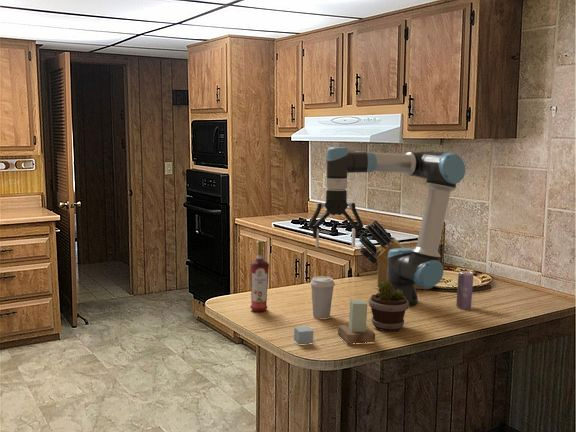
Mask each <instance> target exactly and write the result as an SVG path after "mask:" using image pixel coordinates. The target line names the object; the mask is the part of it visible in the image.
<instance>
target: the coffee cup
mask: <svg viewBox="0 0 576 432" xmlns="http://www.w3.org/2000/svg"><path fill="white" fill-rule="evenodd" d="M309 285H310V286H311V305H312V316H314V317H315V318H314V317H313V318H314V319H317V318H327V319H329V318H330V317H331V309H332V301H333V294H334V286H335V285H336V283H335V281H334V279H333V278H332V277H330V276H325V275H324V276H323V275H322V276H313V277H312V279H311V281H310V282H309ZM328 317H329V318H328Z"/></svg>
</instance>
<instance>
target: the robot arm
mask: <svg viewBox="0 0 576 432" xmlns="http://www.w3.org/2000/svg"><path fill="white" fill-rule="evenodd" d="M371 172H372V173H373V172H382V173H384V172H386V173H397V174H398V173H402V174H403V175H405V176H411V177H417V178H421V179H425V180H426V182H425V184H426V186H427V187H428V191H427V196H426V200H425V205H424V208H423V209H424V211H423V212H422V218H421V223H420V228H419V233H418V237H417V242H416V246H415V247H414V248H410V247H404V248H396V249H391V250H389V252H388V258H387V259H388V264H387V281H388V279H389V282H391V283H392V287H393V286H394V288H393V289H394V290H392V292H393V291H397V290H398V291H400V292H402V294H403V295H404V296H405V297H406V299H407V300H408V302H409V307H414V306H417V305H418V303H419V302H418V301H419V297H418V296H419V295H418V293H417V288H415V284H416V285H417V286H419V287H424V288H431V287H432V288H433V287H435V286H436V285H439V283H440V282H441V280H442V279H443V275H444V267H443V264H442V262H440V261H441V257H442V256H441V254H440V253H439V248H440V244H441V243H440V242H441V238H442V234H443V228H444V224H445V220H446V215H447V210H448V204H449V201H450V196H451V193H452V192H453V191H454V190H456V187H457V184H459V183H460V182H461V181H462V180H463V179H464V177H465V174H466V164H465V161H464V159H463V158H462V157H461V156H460V155H458V154H456V153H452V152H449V151H447V152H445V151H443V152H442V151H432V150H431V151H412V152H411V151H408V152H406V153H391V152H390V153H389V152H374V151H373V152H372V151H361V150H360V151H359V150H358V151H357V150H348V147H346V146H330V147H328V148H327V152H326V181H325V182H326V183H325V185H326V187H325V188H326V189H327V190H326V191H325V203H323V202H317V203H316V208H315V211H314V213H313V215H312V217H311V218H310V221H309V222H308V225H307V227H309V228H310V229H312V237H313V239H315V248H319V244H320V238H319V237H320V230H319V227H320V226H321V225H322V224H323V223H324V221H325V220H326V219H327V218H328V217H329V216H330V215H331V216H335V215H337V216H341V215H343V216H344V217H345V218H346V220H348V222H349V223H350V224H351V226H353V228H351V247H352V248H356V239H358V237H359V229H361V228H364V224H363V221H362V219H361V217H360V216H359V213H358V211H357V208H356V203H355V202H353V201H351V202H347V198H348V197H347V195H348V191H347V190H346V189H348V174H352V173H355V174H358V173H365V174H366V173H371ZM324 207H325V209H326V210H325V211H324V212H323V214H322V215H321V216H320V217H319V215H320V213H321V210H322V209H324ZM347 208H349V209H350V210H351V212H352V214H353V217H354V219H355V220H356V222H355V221H354V220H353V218H352V217H351V216H350V215H349V213H348V212H347V211H346V210H347ZM318 217H319V219H318ZM317 219H318V220H317ZM432 288H431V289H432Z"/></svg>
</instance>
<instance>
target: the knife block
mask: <svg viewBox="0 0 576 432" xmlns="http://www.w3.org/2000/svg"><path fill="white" fill-rule="evenodd" d="M364 230H366V231H367V232H368V233H369V235H370V236H371V237H372V239H374V240H375V241H376V242H377V244H379V245H380V247H382V248H380V249H378V248H377V246H376V245H375V244H374V243H373V242H372V241H371V240H370V239H369V238H368V237H367V236H363V235H360V236H358V237H359V240H358V241H359V242H360V243H361V244H362V245H363V246H364V247H363V246H361V247H360V250H359V251H360V254H362V255H363V256H364V257H365V258H366V259H368V261H370V262H371V263H372V264H373V265H374V266H375V267H377V287H378V288H380V286H379V285H380V284H381V283H380V281H382V282H383V280H386V278H387V264H388V259H387V258H388V252H389V250H391V249H396V248H405V247H404V246H403V245H402V243H400V241H398V239H396V238H395V237H393V236H391V235H390V233H388V231H386V229H385V228H384V227H383V226H382V224H380V223H379V222H378V221H377V220H376V219H374V220H373V221H372V223H370V224H368V226H366V227H365V229H364ZM432 288H433V287H431V288H424V287H419V286H417V285H416V284H415V289H416V290H417V289H421V290H431V289H432Z"/></svg>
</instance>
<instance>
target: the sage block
mask: <svg viewBox="0 0 576 432" xmlns="http://www.w3.org/2000/svg"><path fill="white" fill-rule="evenodd" d="M367 319H368V302H367V301H366V300H365V299H350V300H349V316H348V325H349V328H350V330H351V332H366V326H367Z"/></svg>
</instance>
